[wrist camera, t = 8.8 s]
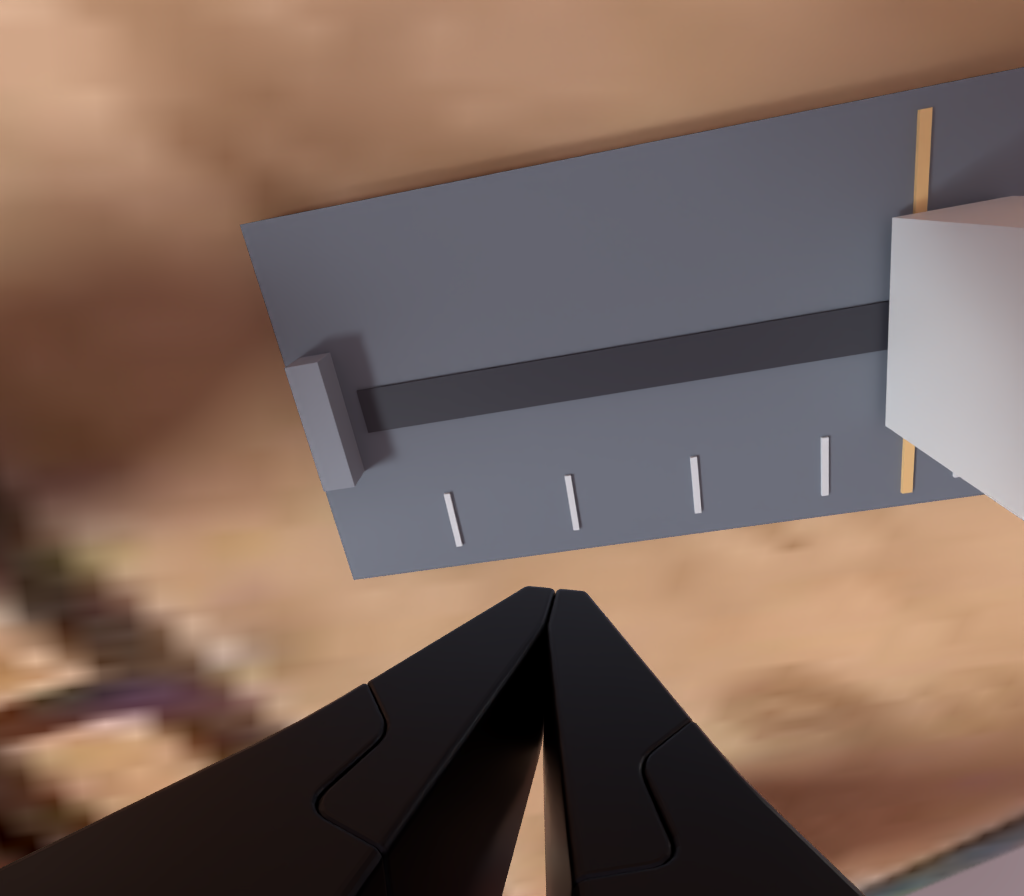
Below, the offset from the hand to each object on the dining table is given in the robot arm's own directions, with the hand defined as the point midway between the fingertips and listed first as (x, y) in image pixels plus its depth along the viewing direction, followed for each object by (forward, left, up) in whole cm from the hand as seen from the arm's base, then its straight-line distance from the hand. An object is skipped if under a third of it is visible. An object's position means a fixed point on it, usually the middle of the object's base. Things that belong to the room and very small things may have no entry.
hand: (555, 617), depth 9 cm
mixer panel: (+3, -3, -13) cm, 13 cm away
